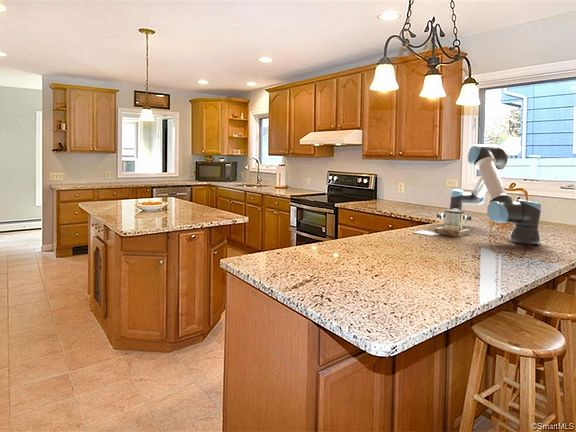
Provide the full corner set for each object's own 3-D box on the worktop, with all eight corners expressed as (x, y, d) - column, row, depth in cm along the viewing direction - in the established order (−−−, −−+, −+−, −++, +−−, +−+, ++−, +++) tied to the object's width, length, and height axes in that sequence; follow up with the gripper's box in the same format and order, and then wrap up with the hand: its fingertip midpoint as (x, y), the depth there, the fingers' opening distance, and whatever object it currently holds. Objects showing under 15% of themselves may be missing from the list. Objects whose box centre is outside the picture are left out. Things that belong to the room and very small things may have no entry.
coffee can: (441, 231, 255) (443, 208, 253) (458, 232, 254) (460, 209, 252) (445, 234, 244) (447, 211, 242) (463, 235, 243) (466, 212, 241)
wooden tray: (469, 234, 249) (469, 229, 248) (458, 236, 239) (459, 231, 239) (446, 230, 259) (446, 225, 259) (435, 232, 249) (435, 228, 249)
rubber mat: (441, 234, 246) (441, 233, 246) (431, 236, 238) (431, 235, 237) (422, 231, 254) (422, 230, 254) (412, 232, 246) (412, 232, 246)
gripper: (474, 221, 269) (474, 226, 250) (434, 218, 279) (431, 222, 260) (475, 210, 268) (476, 214, 249) (435, 207, 278) (432, 210, 259)
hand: (453, 218), depth 254 cm, fingers open, 13 cm apart
